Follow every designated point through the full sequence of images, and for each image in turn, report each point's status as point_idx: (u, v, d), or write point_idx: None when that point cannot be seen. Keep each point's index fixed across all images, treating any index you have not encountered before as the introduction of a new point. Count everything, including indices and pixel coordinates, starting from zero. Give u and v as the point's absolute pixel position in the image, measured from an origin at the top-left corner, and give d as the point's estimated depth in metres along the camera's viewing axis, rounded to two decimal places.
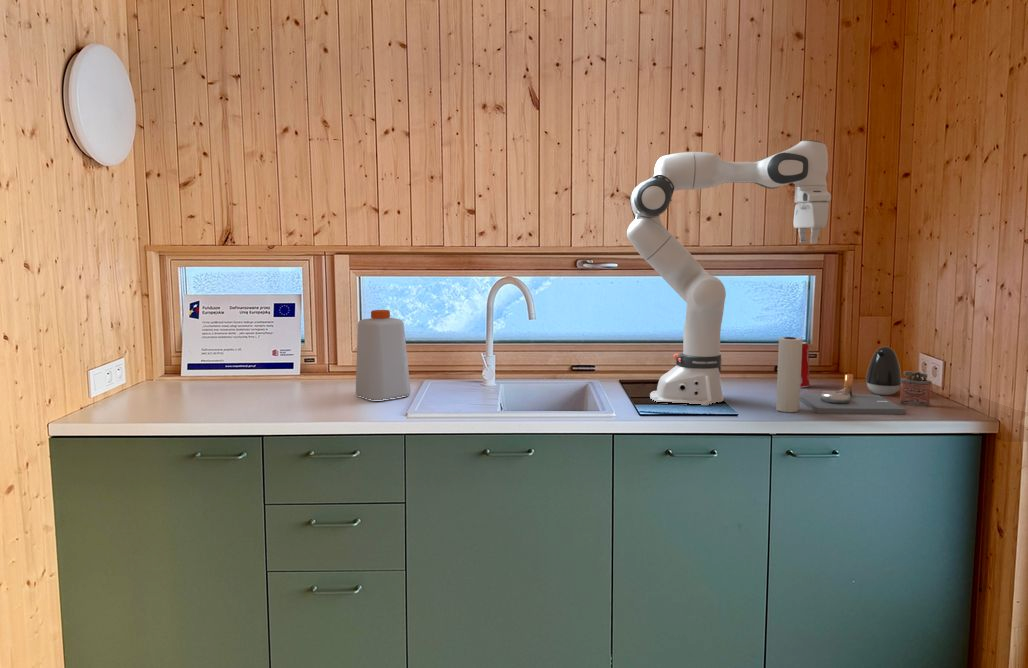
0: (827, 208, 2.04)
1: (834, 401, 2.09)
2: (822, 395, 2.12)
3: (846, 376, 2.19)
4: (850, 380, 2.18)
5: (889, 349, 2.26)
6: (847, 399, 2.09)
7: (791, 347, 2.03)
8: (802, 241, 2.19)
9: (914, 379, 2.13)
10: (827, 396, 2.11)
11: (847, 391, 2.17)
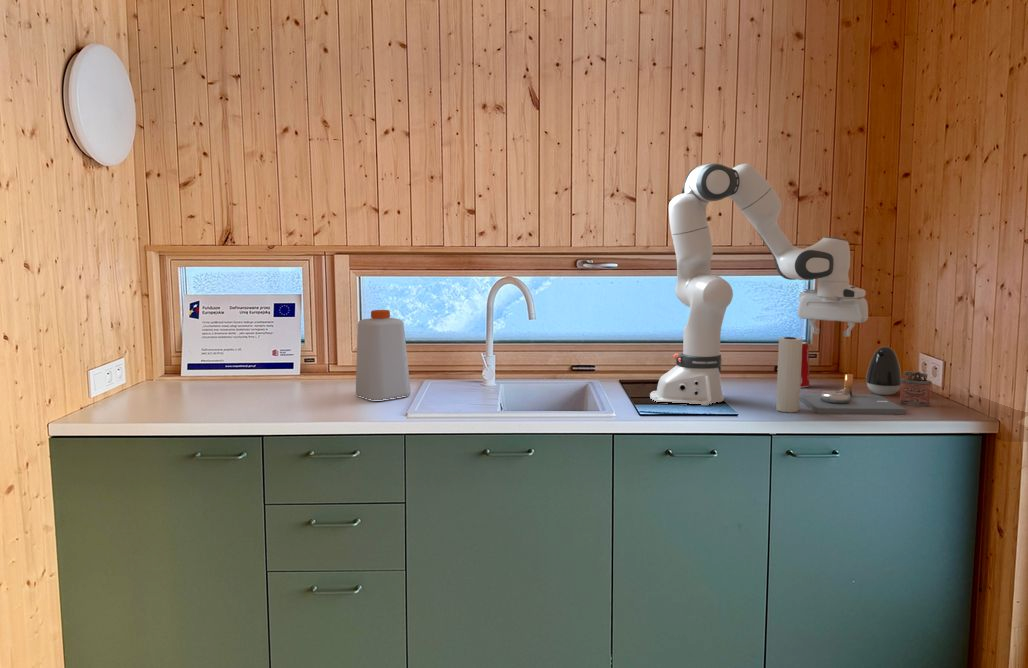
0: (867, 304, 2.15)
1: (834, 401, 2.09)
2: (822, 395, 2.12)
3: (846, 376, 2.19)
4: (850, 380, 2.18)
5: (889, 349, 2.26)
6: (847, 399, 2.09)
7: (791, 347, 2.03)
8: (817, 332, 2.24)
9: (914, 379, 2.13)
10: (827, 396, 2.11)
11: (847, 391, 2.17)
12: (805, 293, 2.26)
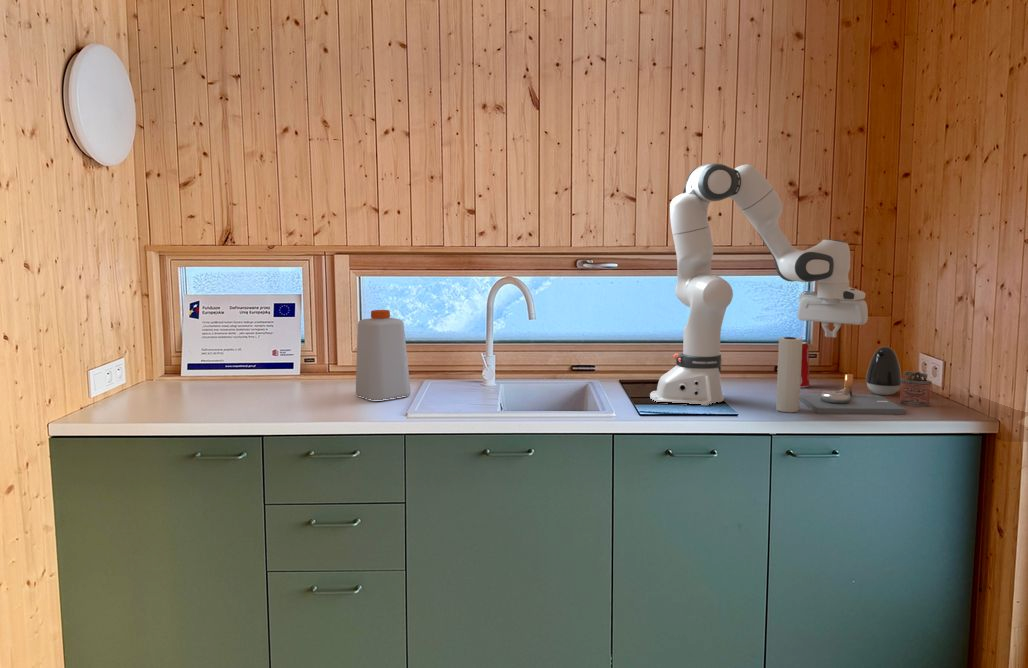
0: (866, 306, 2.15)
1: (834, 401, 2.09)
2: (822, 395, 2.12)
3: (846, 376, 2.19)
4: (850, 380, 2.18)
5: (889, 349, 2.26)
6: (847, 399, 2.09)
7: (791, 347, 2.03)
8: None
9: (914, 379, 2.13)
10: (827, 396, 2.11)
11: (847, 391, 2.17)
12: (805, 294, 2.26)
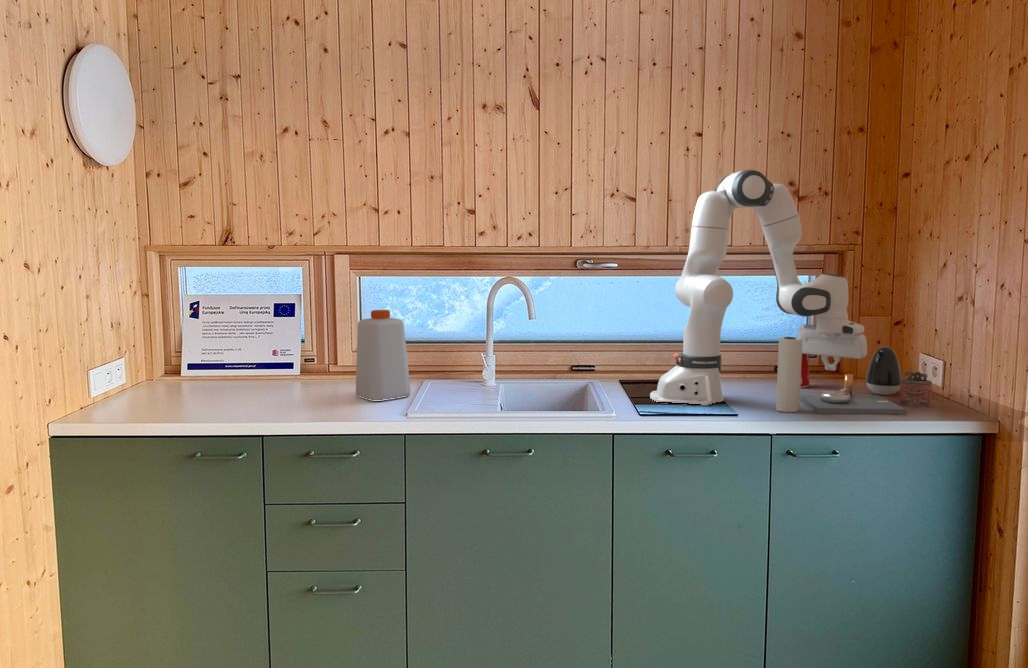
0: None
1: (834, 401, 2.09)
2: (822, 395, 2.12)
3: (846, 376, 2.19)
4: (850, 380, 2.18)
5: (889, 349, 2.26)
6: (847, 399, 2.09)
7: (791, 347, 2.03)
8: (829, 368, 2.23)
9: (914, 379, 2.13)
10: (827, 396, 2.11)
11: (847, 391, 2.17)
12: (805, 328, 2.27)
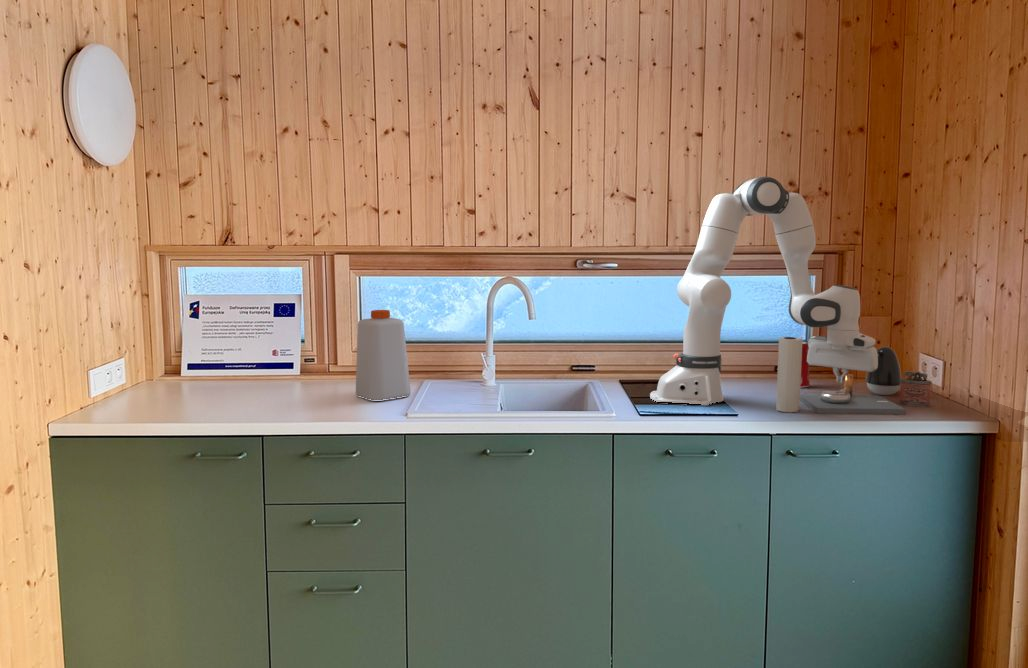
0: None
1: (834, 401, 2.09)
2: (822, 395, 2.12)
3: (846, 376, 2.19)
4: (850, 380, 2.18)
5: (889, 349, 2.26)
6: (847, 399, 2.09)
7: (791, 347, 2.03)
8: None
9: (914, 379, 2.13)
10: (827, 396, 2.11)
11: (847, 391, 2.17)
12: (815, 339, 2.25)
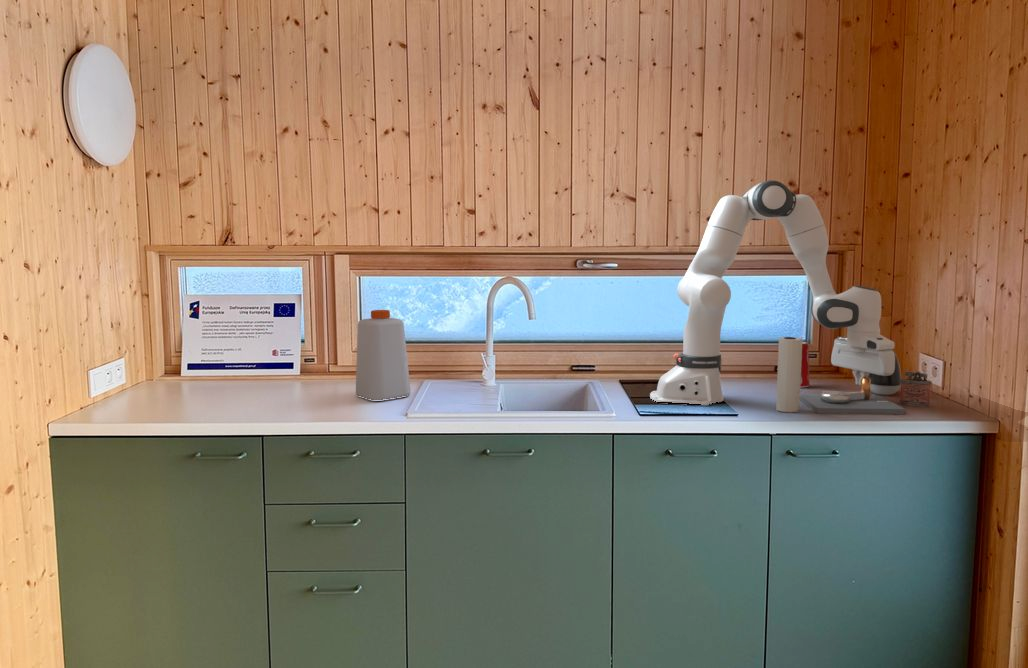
0: (894, 357, 2.08)
1: (826, 400, 2.11)
2: (821, 393, 2.15)
3: (862, 379, 2.14)
4: (865, 383, 2.13)
5: None
6: (840, 399, 2.09)
7: (791, 347, 2.03)
8: None
9: (914, 379, 2.13)
10: (822, 394, 2.13)
11: (859, 394, 2.13)
12: (839, 340, 2.22)
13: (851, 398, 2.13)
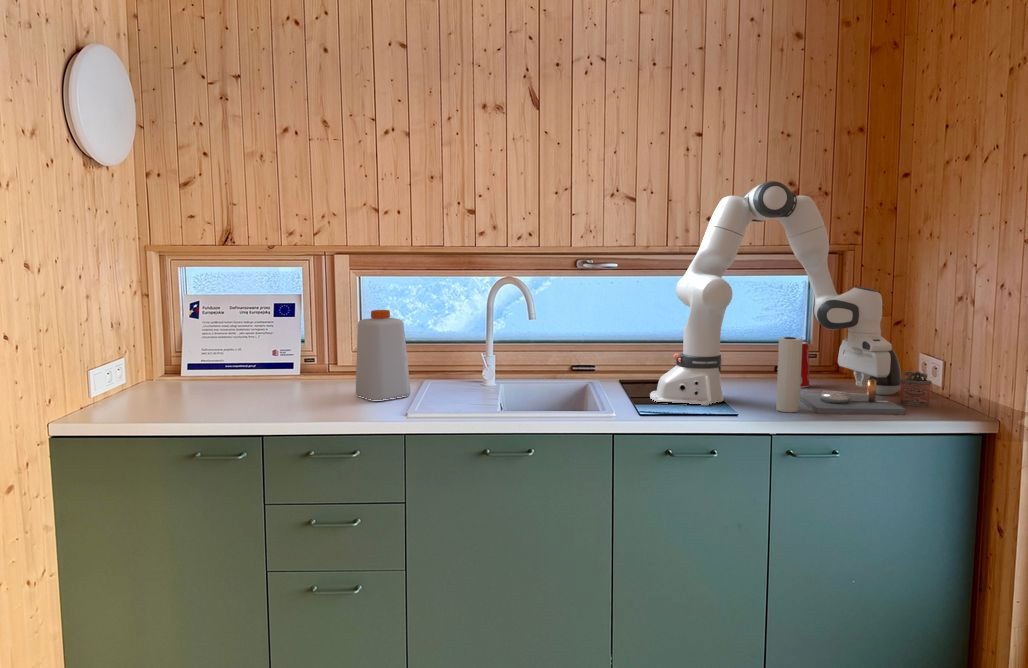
0: (889, 359, 2.06)
1: (823, 399, 2.12)
2: None
3: (867, 381, 2.11)
4: (869, 385, 2.10)
5: None
6: (836, 399, 2.09)
7: (791, 347, 2.03)
8: None
9: (914, 379, 2.13)
10: (821, 393, 2.14)
11: (862, 396, 2.11)
12: (846, 341, 2.23)
13: (853, 399, 2.12)
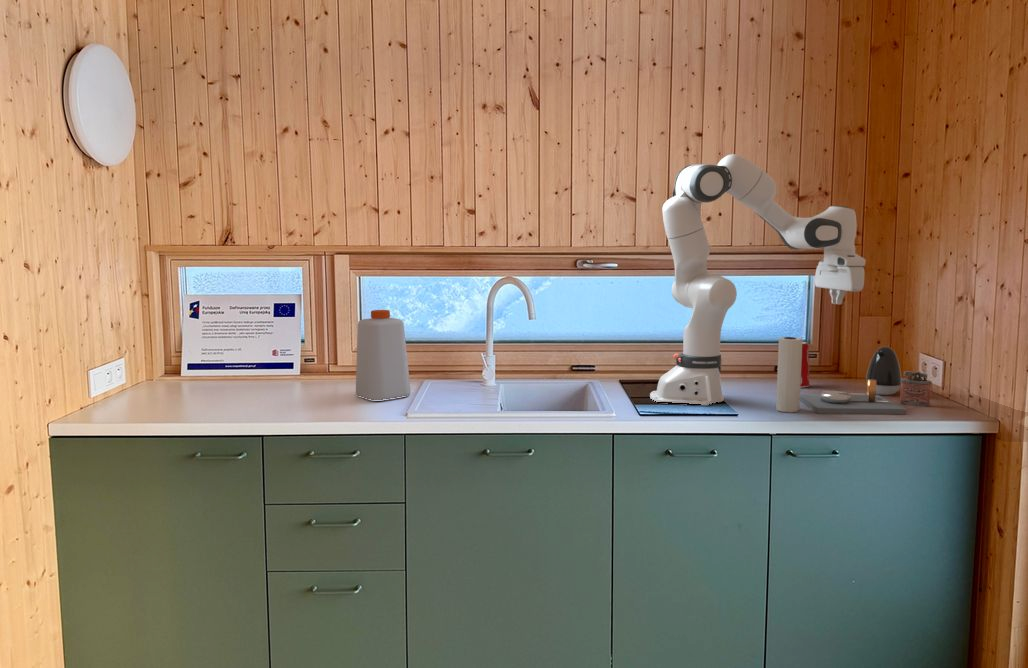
0: (863, 273, 2.12)
1: (823, 399, 2.12)
2: None
3: (867, 381, 2.11)
4: (869, 385, 2.10)
5: (889, 349, 2.26)
6: (836, 399, 2.09)
7: (791, 347, 2.03)
8: None
9: (914, 379, 2.13)
10: (821, 393, 2.14)
11: (862, 396, 2.11)
12: (822, 262, 2.29)
13: (853, 399, 2.11)
